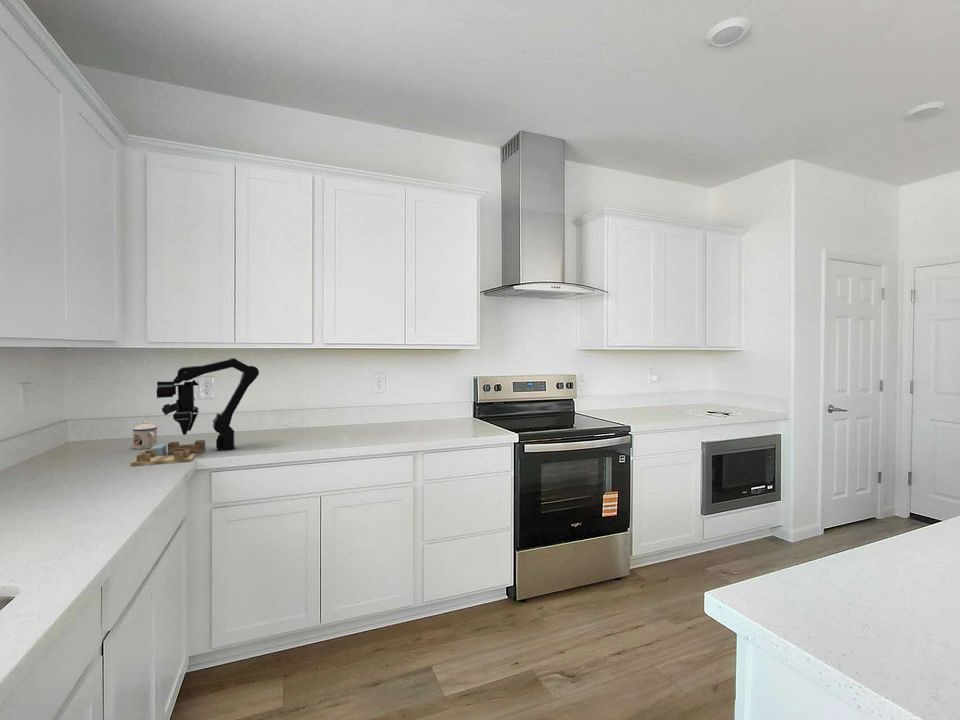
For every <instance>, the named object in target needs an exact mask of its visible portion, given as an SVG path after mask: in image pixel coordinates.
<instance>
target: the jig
mask: <svg viewBox="0 0 960 720" xmlns="http://www.w3.org/2000/svg"><path fill="white" fill-rule="evenodd" d="M196 455H197V453H195V454H190V449H187V448H178V452H174V455H168V454H167V455H164V456H155V450H150V449H145V451H141V452H140V453H138V454H137V455H136V458H135V459H134V460H132V461H131V462H130V463H129V464H130V467H138V466H139V467H140V466H149V465H150V466H152V465H165V464H174V463H175V464H176V463H188V462H191V463H192V461H194V459H195V458H196Z"/></svg>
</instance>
